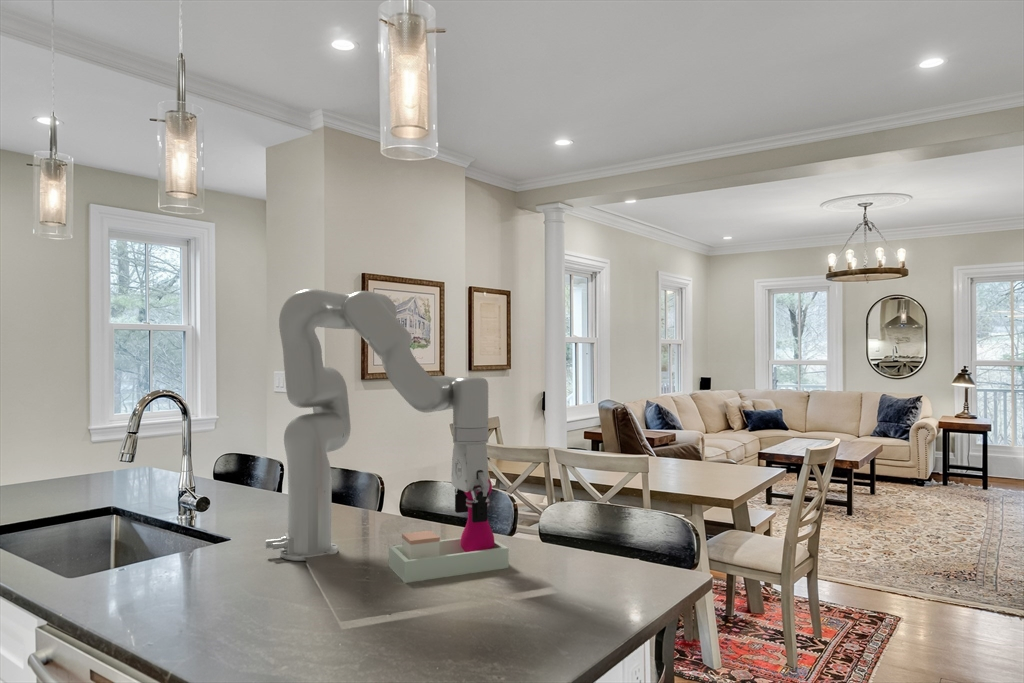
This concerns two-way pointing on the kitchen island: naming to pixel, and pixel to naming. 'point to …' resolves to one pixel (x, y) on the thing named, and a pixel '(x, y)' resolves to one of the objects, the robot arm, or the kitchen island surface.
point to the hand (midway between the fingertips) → (470, 516)
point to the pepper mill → (476, 529)
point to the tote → (448, 561)
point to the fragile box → (420, 545)
